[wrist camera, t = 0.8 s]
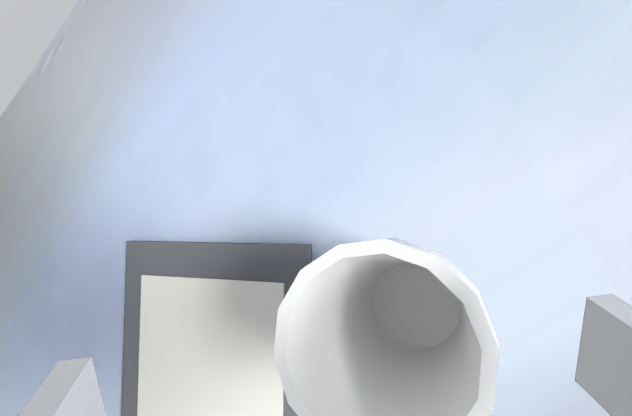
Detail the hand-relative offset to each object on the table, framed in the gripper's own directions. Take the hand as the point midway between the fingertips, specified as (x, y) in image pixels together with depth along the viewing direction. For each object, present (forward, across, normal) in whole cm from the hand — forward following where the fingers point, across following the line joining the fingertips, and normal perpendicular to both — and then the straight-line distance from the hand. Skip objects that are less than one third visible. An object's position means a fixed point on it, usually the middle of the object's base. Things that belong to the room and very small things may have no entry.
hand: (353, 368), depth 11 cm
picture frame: (+21, -9, -17) cm, 28 cm away
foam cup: (+16, +8, -8) cm, 20 cm away
